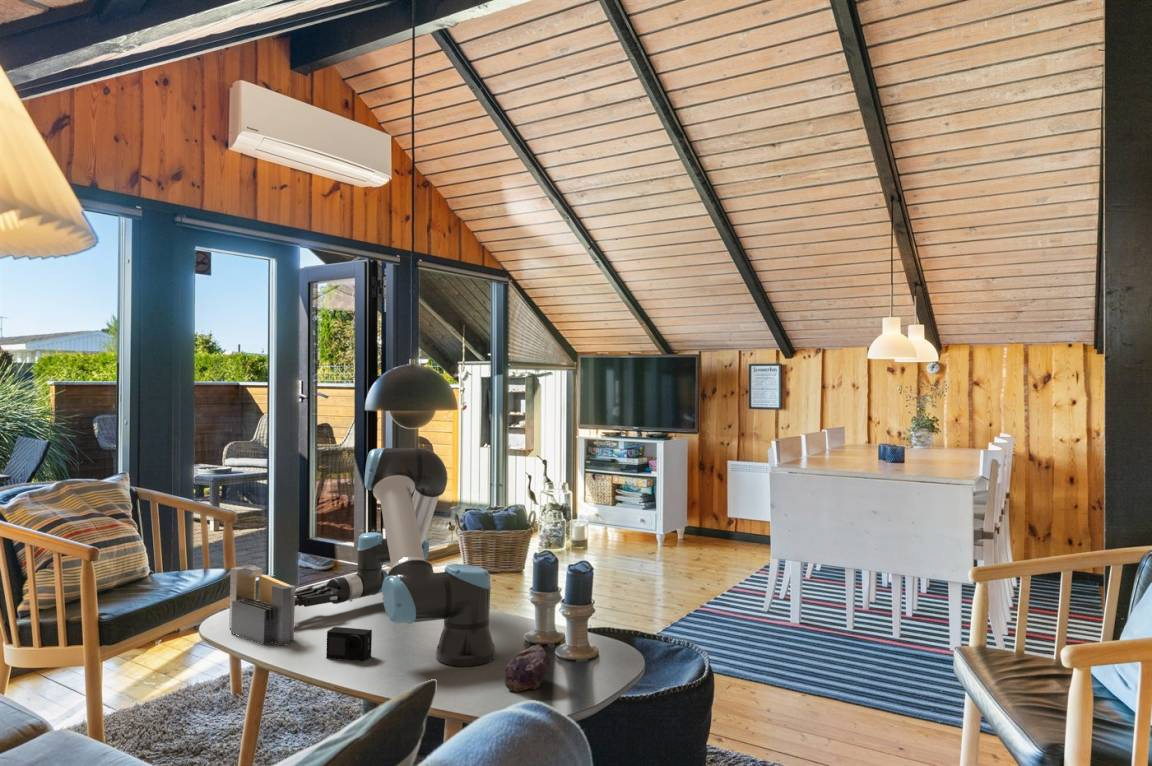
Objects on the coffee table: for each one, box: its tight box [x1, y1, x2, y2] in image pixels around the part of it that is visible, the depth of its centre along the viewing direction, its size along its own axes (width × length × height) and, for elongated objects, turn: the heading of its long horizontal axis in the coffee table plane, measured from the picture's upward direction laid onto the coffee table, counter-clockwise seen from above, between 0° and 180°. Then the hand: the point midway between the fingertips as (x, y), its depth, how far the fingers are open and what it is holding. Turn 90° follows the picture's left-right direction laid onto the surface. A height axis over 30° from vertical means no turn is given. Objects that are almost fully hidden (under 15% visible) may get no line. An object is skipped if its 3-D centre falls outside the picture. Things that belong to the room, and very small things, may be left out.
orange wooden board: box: [257, 574, 296, 641], centre depth 220 cm, size 19×2×14 cm, turn 46°
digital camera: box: [325, 626, 373, 662], centre depth 201 cm, size 10×5×7 cm, turn 80°
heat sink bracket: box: [228, 564, 291, 646], centre depth 218 cm, size 24×8×17 cm, turn 55°
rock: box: [504, 644, 551, 693], centre depth 185 cm, size 12×9×10 cm
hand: (274, 605), depth 223 cm, fingers closed
